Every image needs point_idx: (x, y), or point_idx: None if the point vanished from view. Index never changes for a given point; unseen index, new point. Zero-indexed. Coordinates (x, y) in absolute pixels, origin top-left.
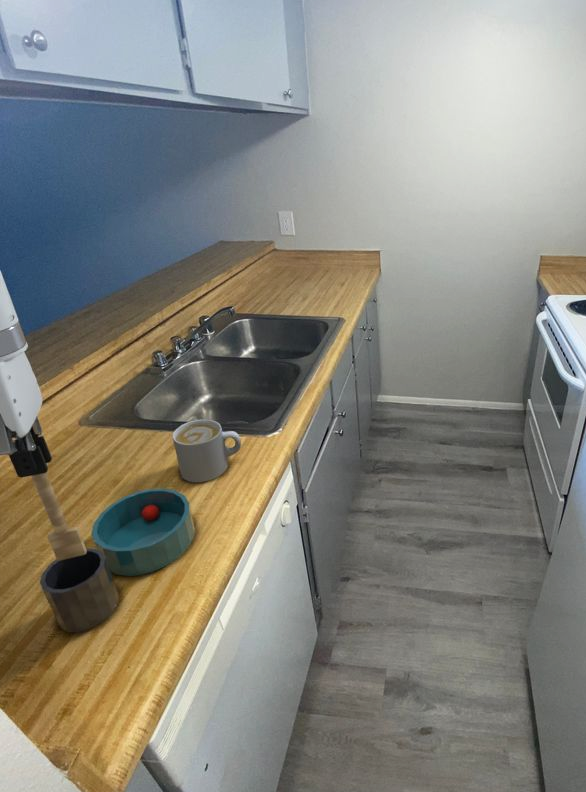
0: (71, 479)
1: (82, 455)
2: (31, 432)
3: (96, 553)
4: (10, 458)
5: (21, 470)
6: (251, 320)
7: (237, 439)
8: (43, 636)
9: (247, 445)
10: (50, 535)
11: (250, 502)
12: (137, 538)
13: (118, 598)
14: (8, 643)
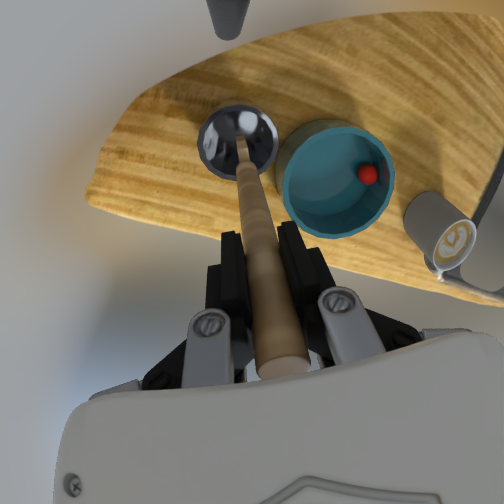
0: (456, 71)
1: (487, 83)
2: (319, 352)
3: (263, 164)
4: (221, 281)
5: (208, 272)
6: None
7: (432, 271)
8: (206, 92)
9: None
10: (239, 154)
11: (350, 266)
12: (334, 159)
13: None
14: (204, 60)
